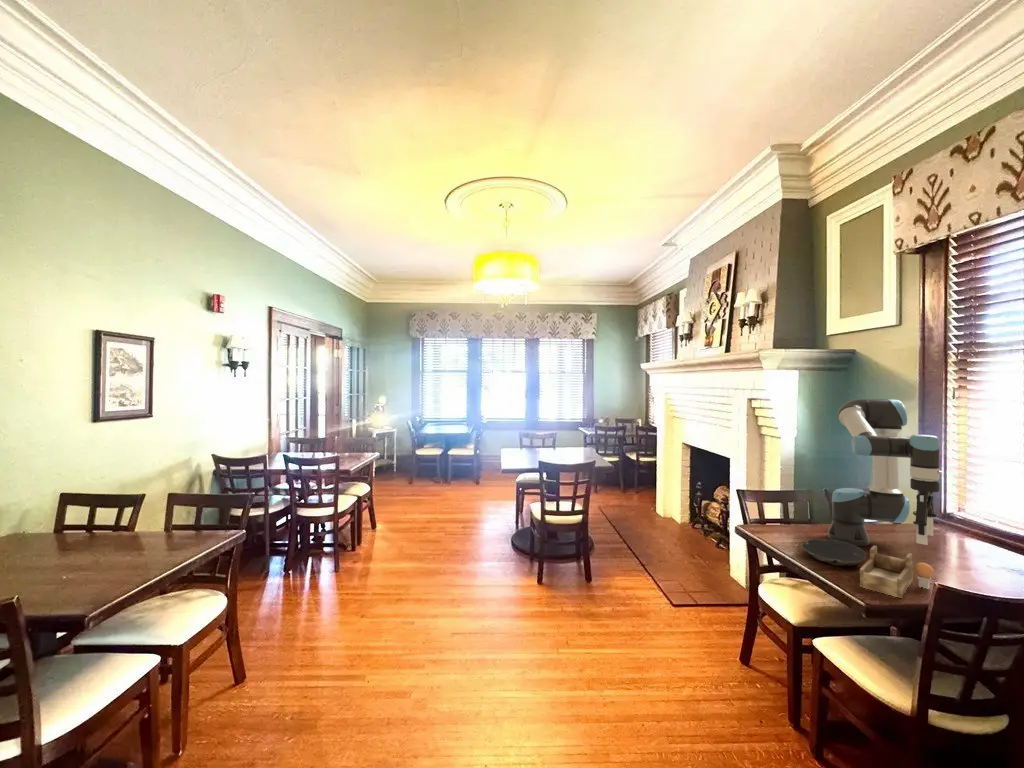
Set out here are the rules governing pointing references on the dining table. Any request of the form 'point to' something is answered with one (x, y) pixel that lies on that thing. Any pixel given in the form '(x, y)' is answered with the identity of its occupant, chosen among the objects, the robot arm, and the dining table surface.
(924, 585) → the grey egg cup
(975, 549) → the dining table surface
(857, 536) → the robot arm
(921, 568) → the ball
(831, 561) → the board
